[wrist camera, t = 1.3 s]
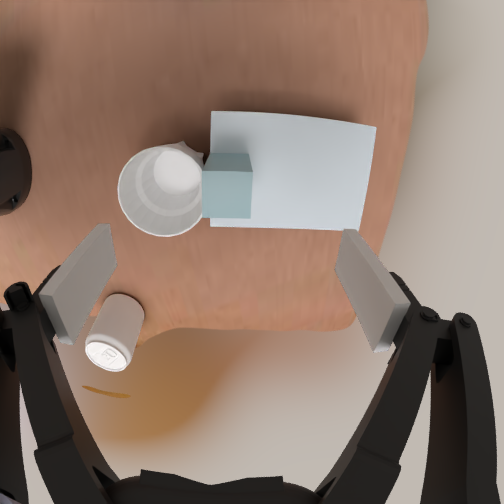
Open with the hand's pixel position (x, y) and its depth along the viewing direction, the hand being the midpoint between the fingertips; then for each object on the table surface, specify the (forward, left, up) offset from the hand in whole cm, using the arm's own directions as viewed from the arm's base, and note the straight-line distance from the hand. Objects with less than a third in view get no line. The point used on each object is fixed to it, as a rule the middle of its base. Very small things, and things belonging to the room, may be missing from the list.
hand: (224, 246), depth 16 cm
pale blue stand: (+7, 0, -17) cm, 19 cm away
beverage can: (-19, -27, -25) cm, 41 cm away
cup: (-7, -2, -25) cm, 26 cm away
